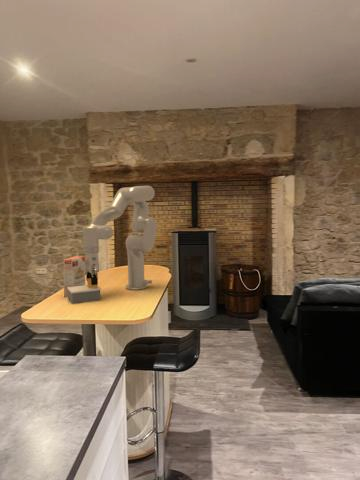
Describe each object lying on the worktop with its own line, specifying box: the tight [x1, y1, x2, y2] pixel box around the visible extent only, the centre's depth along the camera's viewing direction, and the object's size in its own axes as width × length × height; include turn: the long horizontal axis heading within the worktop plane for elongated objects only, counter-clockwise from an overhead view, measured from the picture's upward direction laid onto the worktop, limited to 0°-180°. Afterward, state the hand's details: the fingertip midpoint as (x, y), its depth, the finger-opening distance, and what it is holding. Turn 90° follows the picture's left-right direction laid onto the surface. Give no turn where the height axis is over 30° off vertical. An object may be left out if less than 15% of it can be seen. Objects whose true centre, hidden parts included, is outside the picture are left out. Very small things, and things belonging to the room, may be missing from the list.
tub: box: [67, 290, 101, 305], centre depth 181 cm, size 14×11×6 cm
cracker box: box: [62, 255, 86, 298], centre depth 192 cm, size 14×6×21 cm, turn 168°
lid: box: [67, 278, 102, 293], centre depth 181 cm, size 15×12×6 cm
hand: (92, 283), depth 183 cm, fingers open, 9 cm apart
